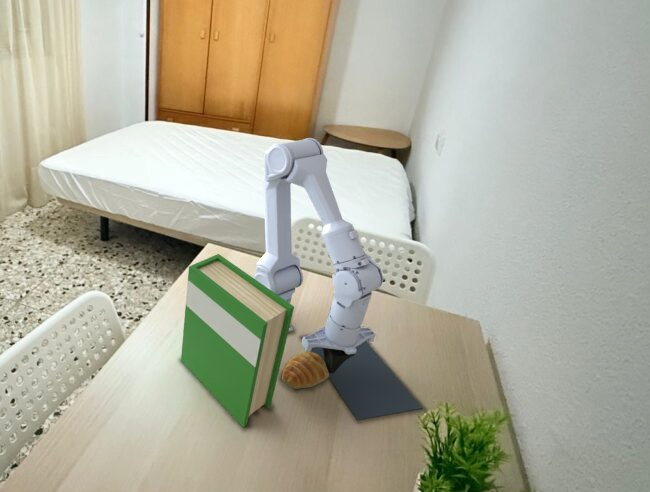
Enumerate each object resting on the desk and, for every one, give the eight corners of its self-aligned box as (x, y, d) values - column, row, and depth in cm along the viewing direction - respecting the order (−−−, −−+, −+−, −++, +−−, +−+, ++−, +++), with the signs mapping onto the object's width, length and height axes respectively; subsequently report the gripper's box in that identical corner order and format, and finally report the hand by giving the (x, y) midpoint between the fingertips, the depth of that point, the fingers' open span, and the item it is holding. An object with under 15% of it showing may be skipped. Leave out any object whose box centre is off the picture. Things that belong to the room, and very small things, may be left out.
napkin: (301, 337, 91) (301, 337, 91) (356, 330, 93) (356, 329, 93) (357, 420, 73) (357, 419, 73) (422, 408, 76) (422, 407, 76)
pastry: (298, 399, 77) (301, 385, 75) (272, 373, 82) (275, 360, 80) (330, 379, 81) (334, 365, 79) (304, 355, 86) (307, 342, 85)
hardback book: (270, 405, 75) (294, 306, 65) (243, 427, 71) (263, 325, 61) (207, 345, 88) (218, 253, 77) (180, 360, 84) (188, 266, 73)
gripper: (322, 338, 70) (307, 391, 76) (393, 328, 73) (373, 380, 79) (301, 311, 77) (289, 361, 83) (368, 302, 79) (351, 352, 85)
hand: (329, 369), depth 81 cm, fingers closed
